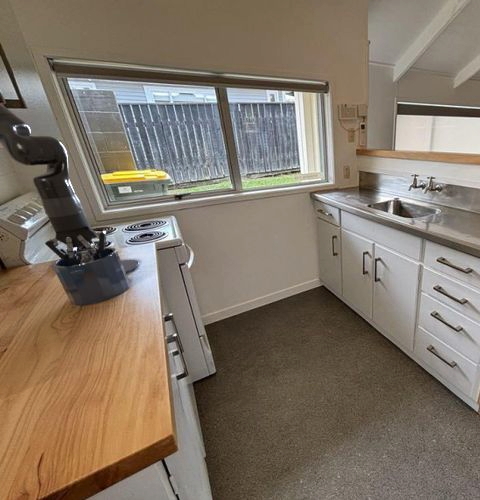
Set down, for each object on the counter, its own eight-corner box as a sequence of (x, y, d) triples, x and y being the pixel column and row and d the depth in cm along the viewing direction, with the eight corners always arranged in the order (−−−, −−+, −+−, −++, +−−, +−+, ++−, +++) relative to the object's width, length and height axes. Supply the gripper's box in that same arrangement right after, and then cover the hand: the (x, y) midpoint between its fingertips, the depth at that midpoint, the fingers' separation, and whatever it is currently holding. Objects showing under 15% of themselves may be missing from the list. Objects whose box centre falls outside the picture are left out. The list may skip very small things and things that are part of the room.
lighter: (90, 279, 90) (77, 250, 86) (103, 275, 92) (91, 247, 88) (89, 288, 84) (75, 257, 80) (104, 284, 86) (91, 254, 82)
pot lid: (80, 285, 94) (73, 270, 92) (93, 268, 107) (87, 254, 105) (136, 273, 101) (130, 259, 99) (142, 258, 114) (137, 245, 112)
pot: (60, 316, 78) (38, 276, 73) (82, 285, 94) (66, 251, 90) (124, 300, 84) (108, 262, 79) (134, 274, 101) (121, 241, 96)
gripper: (100, 205, 85) (121, 257, 92) (37, 213, 79) (64, 268, 86) (93, 210, 79) (116, 265, 86) (25, 219, 73) (55, 278, 80)
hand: (90, 266), depth 86 cm, fingers closed on lighter, 3 cm apart
